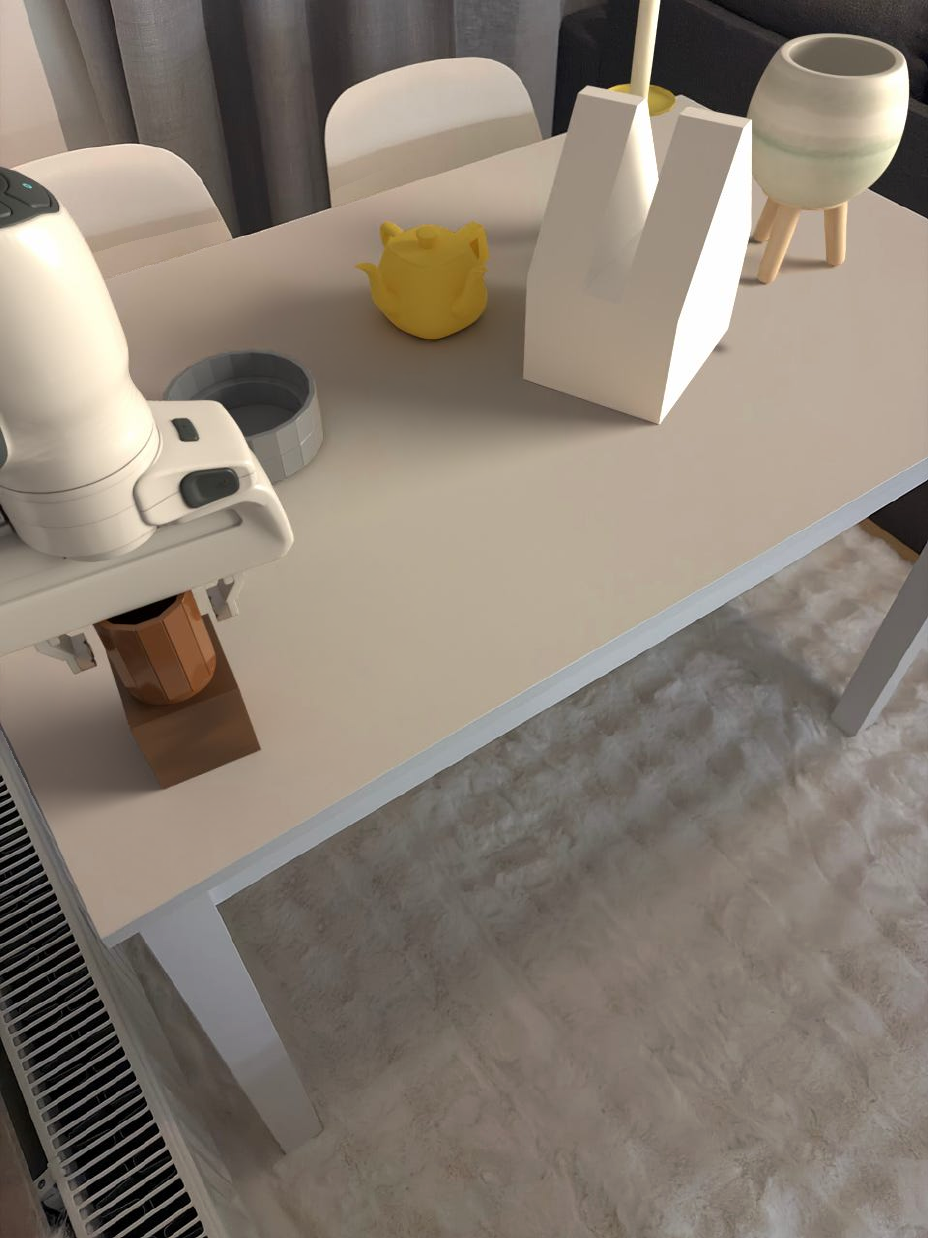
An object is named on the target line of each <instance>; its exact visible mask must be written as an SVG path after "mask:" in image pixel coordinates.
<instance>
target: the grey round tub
mask: <svg viewBox="0 0 928 1238" xmlns="http://www.w3.org/2000/svg"><path fill="white" fill-rule="evenodd" d="M195 400H211V401H216V402H219V403H220V404H222V406H223V407H224V408H225V409H226V410H227V412H228V413H229V414H230V416H231V417H232V418H233V420H234V421H235V423H236V424H237V426H238V427H239V429H240V431H241V432H242V434H243V436H244V438H245V440H246V442H247V445H248V447H249V449H250V450H251V451H252V452H253V453H254V455H255V456H256V458H257V460H258V461H259V463H260V465H261V467H262V468H263V470H264V472H265V474H266V475H267V477H268V479H269V481H270V483H271V484H273V483H277V482H278V481H282V480H285V479H287V478H289V477H290V476H292V475H294V474H296V473H297V472H299V471H300V470H302V469H303V468H305V467H306V466H307V465H308V464H309V463H310V462H311V461H312V460H313V459H314V458H315V457H316V456H317V454H318V452H319V450H320V447H321V445H322V442H323V441H324V426H323V419H322V413H321V408H320V403H319V395H318V390H317V386H316V380H315V377H314V375H313V374H312V372H311V371H310V370H309V368H308V366H307V365H306V364H304V363H303V362H301V361H299V360H298V359H296V358H295V357H293V356H291V355H288V354H285V353H283V352H280V351H276V350H269V349H256V348H245V349H236V350H228V351H224V352H220V353H217V354H214V355H209V356H206V357H205V358H202V359H200V360H199V361H196V362H194V363H193V364H190V365H189V366H187V367H186V368H184V369H183V370H181V372H179V373H178V374H176V376H175V377H174V378H172V379H171V381H170V383H169V384H168V385H167V388H165V391H164V392H163V394H162V401H195Z"/></svg>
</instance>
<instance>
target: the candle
mask: <svg viewBox="0 0 928 1238" xmlns="http://www.w3.org/2000/svg"><path fill="white" fill-rule="evenodd" d="M638 5H639V6H638V13H637V22H636V24H637V25H636V33H635V40H634V49H633V56H632V57H633V58H632V66H631V67H632V68H631V75H630V76H631V78H630V83H625V84H617V85H615V86H612V87H609V88H607V90H612V91H617V92H621V93H626V94H631V95H636V96H641V97H646V98H647V104H648V111H649V118H651V117H656V116H657V117H658V116H662V115H663V114H666V113H668V112H670V111H671V110H672V109H673V108H674V107H675V106H676V103H677V101H676V95H674V94H673V93H672V92H671V91H670V90H668V89H666V88H663V87H661V86H659V85H653V84H650V83H651V74H652V67H653V60H654V59H653V58H654V51H655V44H656V37H657V36H656V35H657V28H658V20H659V14H660V13H659V11H660V5H661V0H639V4H638Z"/></svg>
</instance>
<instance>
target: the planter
mask: <svg viewBox="0 0 928 1238" xmlns="http://www.w3.org/2000/svg"><path fill="white" fill-rule="evenodd" d="M909 82H910V79H909V69H908V65H907V60H906V57H905V56H904V55H903V53H902V52H901V51H900V50H898V49H897V48H895V47H894V46H892V45H890V44H888V43H885V42H883V41H882V40H877V39H874V38H871V37H865V36H861V35H854V34H847V33H816V34H808V35H803V36H798V37H796V38H793V39H790V40H788V41H787V42H785V43H784V44H782V45H781V46H780V47H779V48H778V50H776V52H775V54H774V55H773V56H772V58H771V59H770V61H769V62H768V64H767V66H766V68H765V69H764V71H763V73H762V74H761V77H760V78H759V81H758V83H757V85H756V87H755V90H754V92H753V95H752V97H751V101H750V104H749V107H748V110H747V113H746V117H745V118H748V119H752V156H751V177H752V178H753V179H754V181H755V182H756V184H757V185H758V186H759V187H760V189H761V191H762V192H763V194H764V195H765V196H766V198H767V200H766V201H765V204H764V206H763V209H762V211H761V214H760V216H759V218H758V220H757V223H756V225H755V228H754V230H753V234H752V236H753V239H754V240H755V241H757V242H761V243H764V242H766V246H765V248H764V251H763V255H762V258H761V261H760V264H759V268H758V272H757V279H758V281H759V282H761V283H764V284H770V283H773V282H774V281H775V280H776V278H777V275H778V273H779V270H780V268H781V265H782V264H783V261H784V258H785V255H786V253H787V250H788V249H789V245H790V242H791V240H792V238H793V235H794V232H795V229H796V227H797V224H798V222H799V219H800V217H801V214H802V211H823V218H824V219H823V223H824V225H823V226H824V241H825V243H824V244H825V245H824V246H825V261H826V263H827V264H828V265H830V266H833V267H837V266H841V265H842V264H843V263H844V261H845V259H846V249H847V219H848V204H849V203H848V202H849V201H850V200H852V199H854V198H855V197H857V196H859V195H861V194H862V193H863V192H865V191H866V190H867V189H869V188H870V187H871V186H872V185H873V184H874V183H875V182H876V181H877V180H878V179H879V178H881V176H882V175H883V173H884V172H885V171H886V170H887V168H888V167H889V165H890V164H891V162H892V160H893V158H894V157H895V154H896V152H897V150H898V147H899V145H900V142H901V139H902V136H903V133H904V129H905V124H906V120H907V115H908V108H909V107H908V106H909V96H910V83H909Z"/></svg>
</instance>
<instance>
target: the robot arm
mask: <svg viewBox="0 0 928 1238" xmlns="http://www.w3.org/2000/svg"><path fill="white" fill-rule="evenodd" d="M129 361H130V360H129V346H128V342H127V338H126V335H125V332H124V330H123V327H122V324H121V321H120V319H119V315H118V313H117V311H116V308H115V305H114V302H113V300H112V297H111V294H110V292H109V290H108V287H107V285H106V282H105V280H104V278H103V275H102V272H101V270H100V268H99V266H98V263H97V261H96V259H95V257H94V255H93V252H92V251H91V248H90V247H89V244H88V243H87V240H86V238H85V236H84V235H83V233H82V231H81V229H80V227H79V226H78V224H77V223H76V221H75V219H74V218H73V217H72V215H71V214H70V212H69V211H68V210H67V207H65V206H64V204H63V203H62V202H61V201H60V200H59V199H58V198H57V197H56V196H55V195H54V194H53V193H52V192H51V191H50V190H49V189H48V188H46V187H45V186H44V185H42V184H41V183H39V182H38V181H36V180H35V179H33V178H31V177H30V176H27V175H26V174H23V173H21V172H20V171H18V170H14V169H11V168H7V167H3V166H0V657H3V656H6V655H9V654H13V653H14V652H18V651H20V650H23V649H26V648H28V647H32V646H33V647H34V648H35V650H36V651H37V653H39V654H42V655H45V656H48V657H50V658H54V659H57V660H60V661H62V662H66V664H67V665H68V667H69V669H70V670H71V673H72V674H73V675H78V674H81V673H82V672H85V671H87V670H90V669H94V668H96V667H98V664H97V661H96V659H95V654H94V650H93V648H92V646H91V644H90V643H89V642H88V639H87V637H86V635H85V633H84V632H82V633H81V632H80V633H78V634H75V635H72V636H70V635H68V633H71V632H74V631H77V630H81V629H83V628H86V627H88V626H91V625H92V624H94V623H97V622H100V621H103V620H106V619H109V618H112V617H114V616H117V615H120V614H123V613H126V612H129V611H131V610H134V609H137V608H140V607H143V606H146V605H148V604H151V603H154V602H157V601H160V600H163V599H166V598H168V597H171V596H174V595H177V594H180V593H183V592H185V591H188V590H194V589H197V588H200V587H202V586H206V585H208V584H211V583H214V582H216V581H217V583H216V585H214V586H211V587H209V588H205V592H206V596H207V598H208V601H209V604H210V606H211V608H212V609H211V610H212V611H213V614H214V616H215V619H216V620H217V622H218V623H219V622H222V621H225V620H228V619H231V618H234V617H236V616H239V615H240V611H239V610H238V607H237V603H236V600H237V599H238V596H239V594H240V592H241V591H242V587H243V586H244V583H245V581H246V579H247V577H246V573H245V572H246V571H248V570H251V569H253V568H256V567H259V566H261V565H265V564H268V563H272V562H274V561H276V560H280V559H282V558H284V557H285V556H286V555H287V554H288V553H289V551H290V549H291V548H292V546H293V545H294V542H295V537H294V532H293V530H292V527H291V524H290V521H289V518H288V515H287V513H286V510H285V509H284V507H283V505H282V503H281V500H280V499H279V497H278V495H277V493H276V491H275V489H274V487H273V485H272V483H270V481H269V479H268V477H267V475H266V474H265V472H264V470H263V468H262V467H261V465H260V463H259V461H258V460H257V458H256V456H255V455H254V453H253V452H252V451H251V450H250V449H249V447H248V445H247V442H246V440H245V438H244V436H243V434H242V432H241V431H240V429H239V427H238V426H237V424H236V423H235V421H234V420H233V418H232V417H231V416H230V414H229V413H228V412H227V410H226V409H225V408H224V407H223V406H222V404H220V403H219V402H216V401H211V400H195V401H163V400H150V399H147V400H146V397H144V395H143V394H142V392H141V391H140V390H139V388H138V387H137V386H136V385H135V383H134V381H133V379H132V377H131V374H130V368H129V367H130V366H129V365H130V364H129ZM92 626H93V625H92Z"/></svg>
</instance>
